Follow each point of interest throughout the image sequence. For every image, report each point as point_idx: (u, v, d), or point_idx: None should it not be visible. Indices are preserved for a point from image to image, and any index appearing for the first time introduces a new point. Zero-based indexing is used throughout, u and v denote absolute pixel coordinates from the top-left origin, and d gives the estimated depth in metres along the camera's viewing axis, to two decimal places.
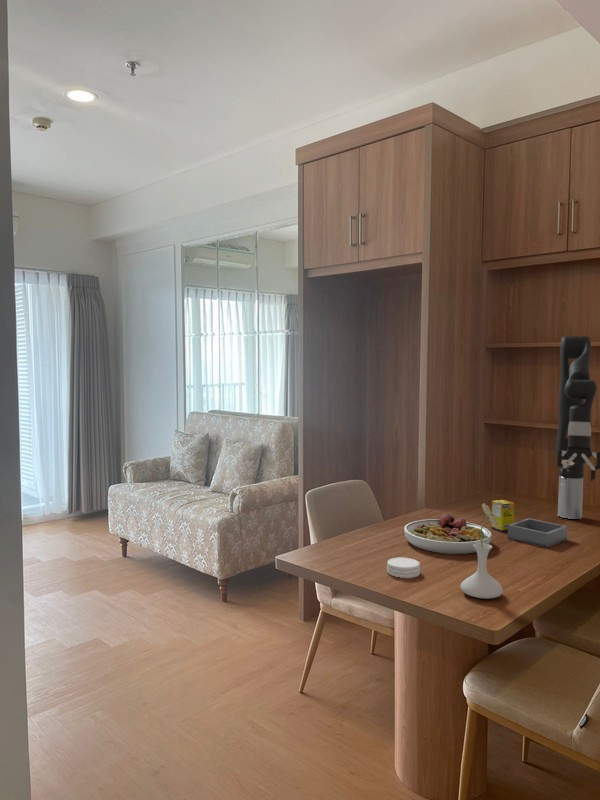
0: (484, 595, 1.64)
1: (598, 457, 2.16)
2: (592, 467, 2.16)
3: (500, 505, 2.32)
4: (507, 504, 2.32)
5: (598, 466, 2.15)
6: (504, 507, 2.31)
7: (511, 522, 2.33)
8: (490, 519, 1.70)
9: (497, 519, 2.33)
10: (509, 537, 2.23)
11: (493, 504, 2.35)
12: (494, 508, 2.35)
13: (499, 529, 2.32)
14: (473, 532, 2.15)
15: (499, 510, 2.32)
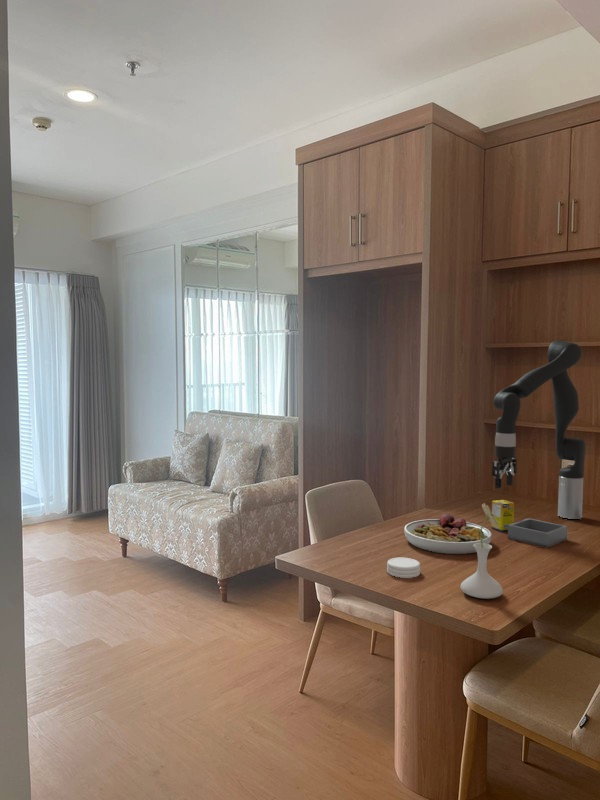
0: (484, 595, 1.64)
1: None
2: None
3: (500, 505, 2.32)
4: (507, 504, 2.32)
5: None
6: (504, 507, 2.31)
7: (511, 522, 2.33)
8: (490, 519, 1.70)
9: (497, 519, 2.33)
10: (509, 537, 2.23)
11: (493, 504, 2.35)
12: (494, 508, 2.35)
13: (499, 529, 2.32)
14: (473, 532, 2.15)
15: (499, 510, 2.32)
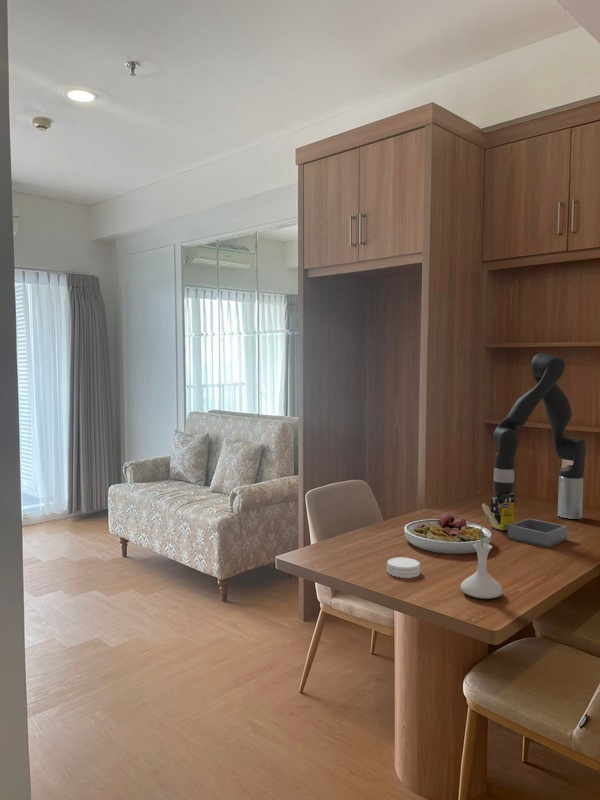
0: (484, 595, 1.64)
1: None
2: None
3: (500, 505, 2.32)
4: (507, 504, 2.32)
5: None
6: (504, 507, 2.31)
7: (511, 522, 2.33)
8: (490, 519, 1.70)
9: None
10: (509, 537, 2.23)
11: None
12: None
13: (499, 529, 2.32)
14: (473, 532, 2.15)
15: None
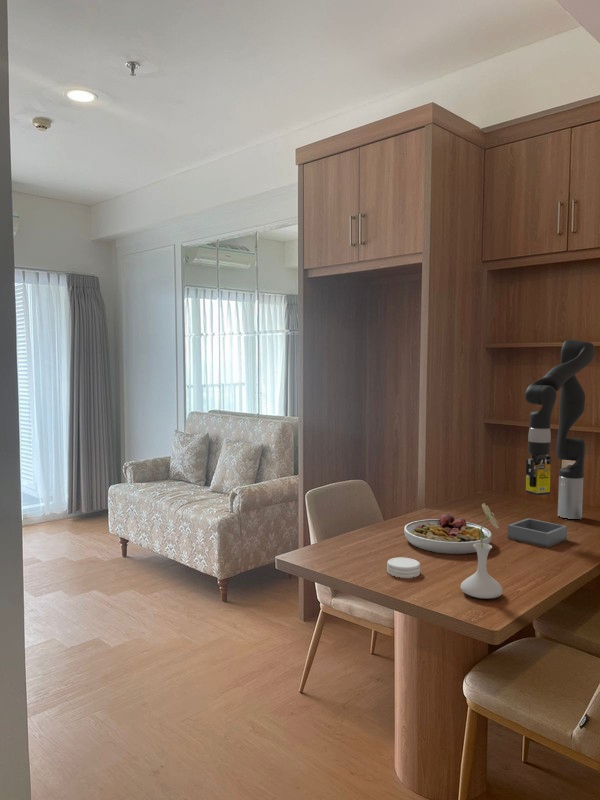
0: (484, 595, 1.64)
1: None
2: None
3: (536, 467, 2.18)
4: (543, 466, 2.18)
5: None
6: (540, 469, 2.18)
7: (547, 485, 2.19)
8: (490, 519, 1.70)
9: None
10: (509, 537, 2.23)
11: None
12: None
13: (535, 492, 2.19)
14: (473, 532, 2.15)
15: None
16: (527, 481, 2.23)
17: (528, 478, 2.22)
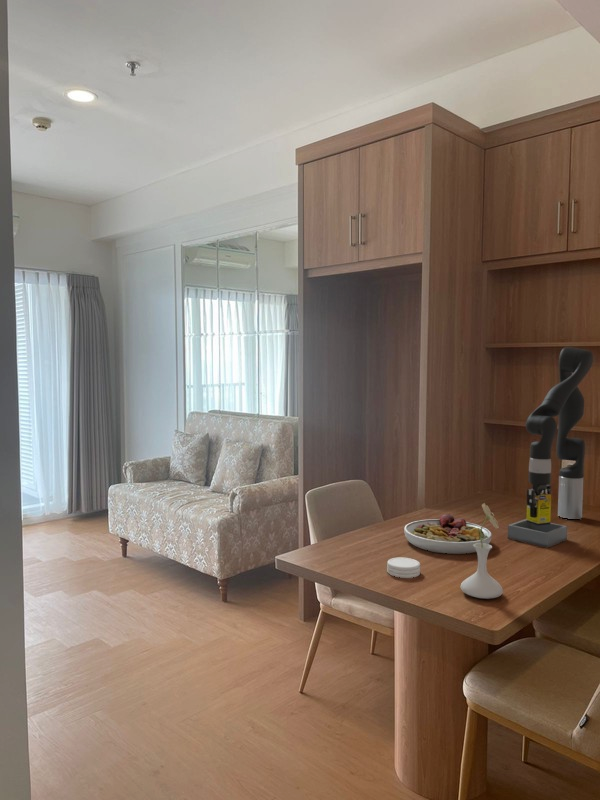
0: (484, 595, 1.64)
1: None
2: None
3: (536, 497, 2.19)
4: (544, 496, 2.19)
5: None
6: (541, 499, 2.18)
7: (548, 515, 2.20)
8: (490, 519, 1.70)
9: None
10: (509, 537, 2.23)
11: None
12: None
13: (535, 522, 2.19)
14: (473, 532, 2.15)
15: None
16: (528, 511, 2.23)
17: (529, 508, 2.22)
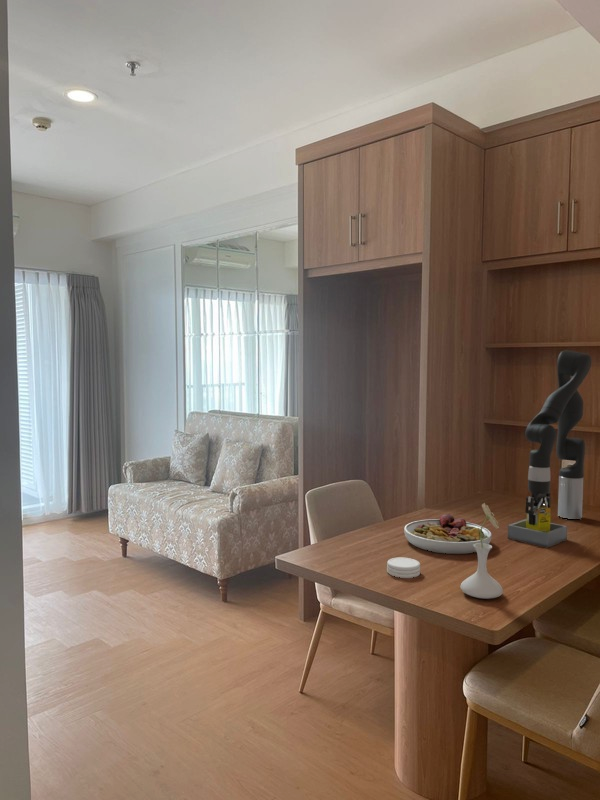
0: (484, 595, 1.64)
1: None
2: None
3: (537, 510, 2.19)
4: (544, 509, 2.19)
5: None
6: (541, 513, 2.19)
7: (547, 528, 2.21)
8: (490, 519, 1.70)
9: (533, 525, 2.21)
10: (509, 537, 2.23)
11: (528, 509, 2.23)
12: None
13: None
14: (473, 532, 2.15)
15: (536, 516, 2.19)
16: (527, 524, 2.23)
17: (528, 521, 2.23)
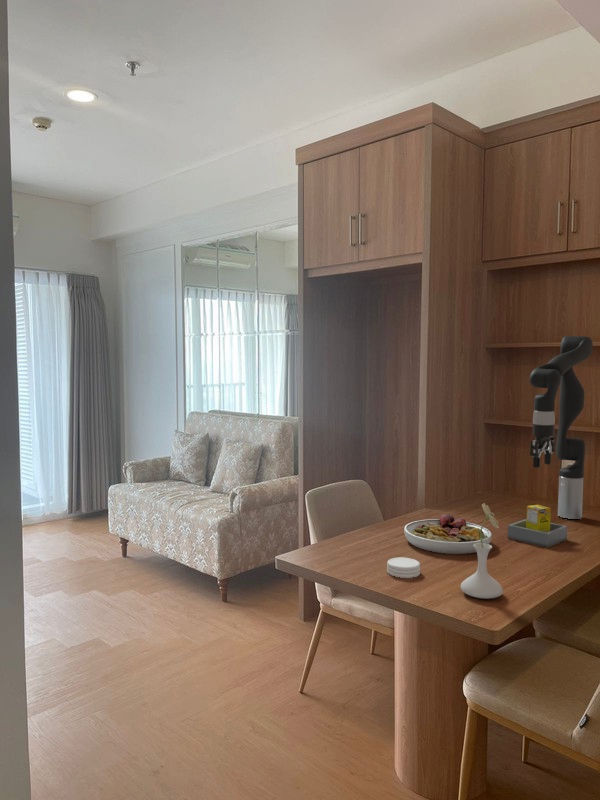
0: (484, 595, 1.64)
1: None
2: None
3: (537, 510, 2.19)
4: (544, 509, 2.19)
5: None
6: (541, 513, 2.19)
7: (547, 528, 2.21)
8: (490, 519, 1.70)
9: (533, 525, 2.21)
10: (509, 537, 2.23)
11: (528, 509, 2.23)
12: (529, 513, 2.22)
13: None
14: (473, 532, 2.15)
15: (536, 516, 2.19)
16: (527, 524, 2.23)
17: (528, 521, 2.23)
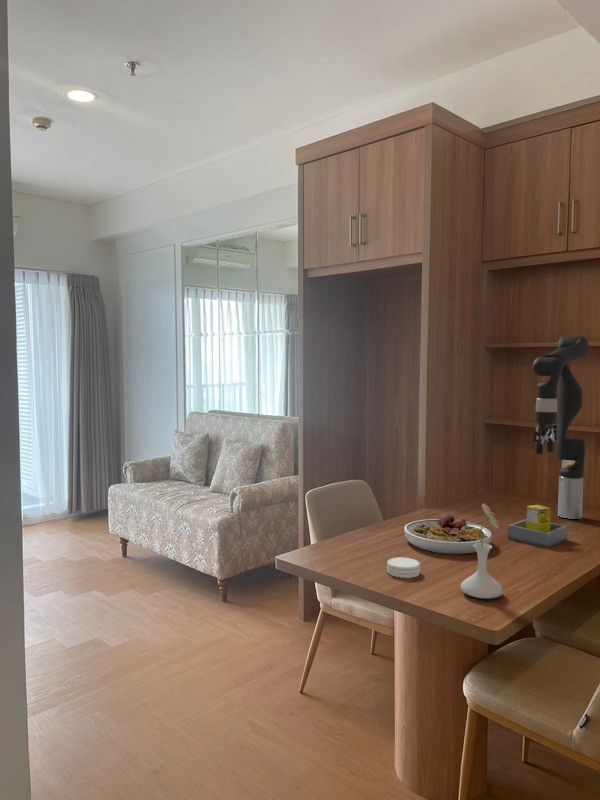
0: (484, 595, 1.64)
1: None
2: None
3: (537, 510, 2.19)
4: (544, 509, 2.19)
5: None
6: (541, 513, 2.19)
7: (547, 528, 2.21)
8: (490, 519, 1.70)
9: (533, 525, 2.21)
10: (509, 537, 2.23)
11: (528, 509, 2.23)
12: (529, 513, 2.22)
13: None
14: (473, 532, 2.15)
15: (536, 516, 2.19)
16: (527, 524, 2.23)
17: (528, 521, 2.23)
